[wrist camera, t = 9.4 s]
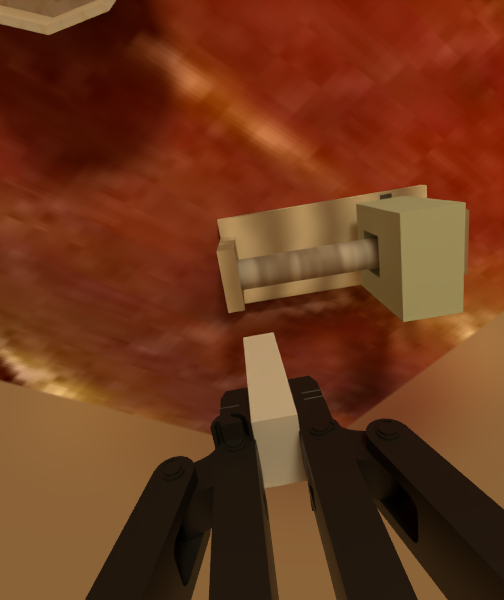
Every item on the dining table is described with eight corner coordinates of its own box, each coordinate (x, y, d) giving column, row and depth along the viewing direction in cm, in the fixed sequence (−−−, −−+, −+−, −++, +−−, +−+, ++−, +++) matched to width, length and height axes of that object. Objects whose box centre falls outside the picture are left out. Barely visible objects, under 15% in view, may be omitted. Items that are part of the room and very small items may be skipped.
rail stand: (233, 302, 44) (232, 331, 36) (217, 219, 41) (212, 230, 33) (422, 271, 44) (466, 293, 36) (421, 184, 41) (469, 186, 32)
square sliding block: (361, 285, 41) (403, 322, 31) (356, 203, 38) (400, 213, 28) (405, 278, 41) (462, 312, 31) (403, 195, 38) (465, 202, 28)
